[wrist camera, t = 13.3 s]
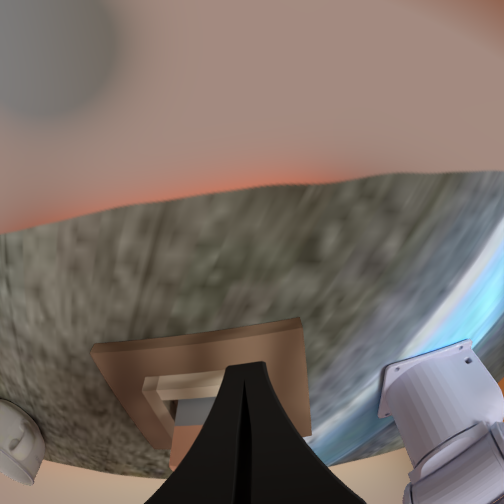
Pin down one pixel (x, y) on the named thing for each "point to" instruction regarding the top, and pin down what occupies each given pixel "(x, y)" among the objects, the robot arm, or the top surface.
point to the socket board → (202, 372)
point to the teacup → (19, 444)
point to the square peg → (188, 426)
